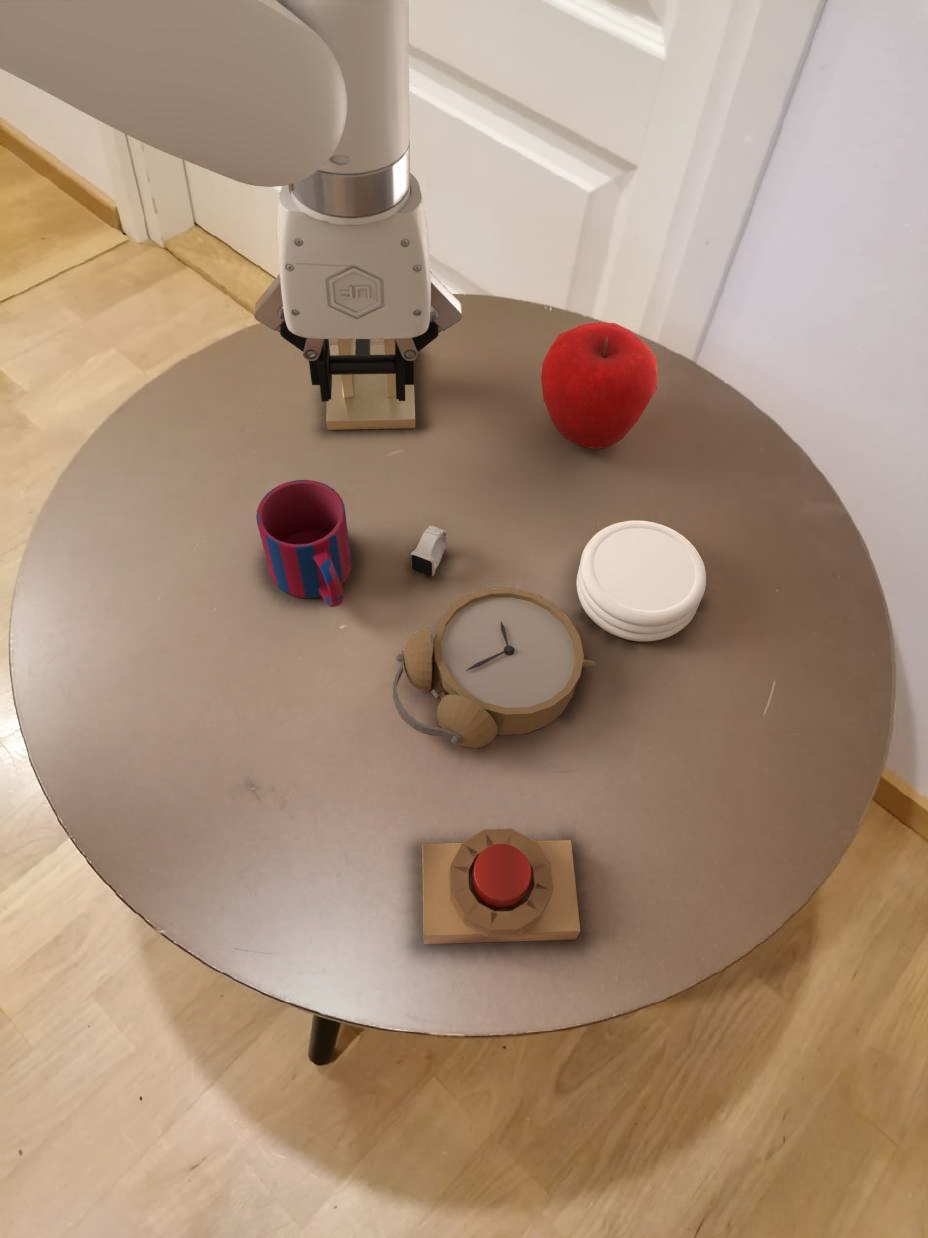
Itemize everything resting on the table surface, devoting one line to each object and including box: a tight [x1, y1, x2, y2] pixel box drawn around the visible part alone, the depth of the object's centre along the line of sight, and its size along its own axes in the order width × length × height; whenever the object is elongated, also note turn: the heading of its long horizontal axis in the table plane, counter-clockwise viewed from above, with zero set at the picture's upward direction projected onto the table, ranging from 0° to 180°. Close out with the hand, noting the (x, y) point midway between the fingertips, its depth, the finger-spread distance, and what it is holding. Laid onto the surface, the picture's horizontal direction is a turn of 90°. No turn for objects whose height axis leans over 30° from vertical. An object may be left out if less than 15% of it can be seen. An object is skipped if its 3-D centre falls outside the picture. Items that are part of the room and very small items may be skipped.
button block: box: [421, 828, 581, 945], centre depth 61 cm, size 10×6×4 cm, turn 92°
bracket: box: [325, 339, 416, 431], centre depth 83 cm, size 10×8×13 cm
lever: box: [329, 339, 395, 375], centre depth 75 cm, size 13×5×2 cm, turn 3°
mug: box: [255, 479, 352, 608], centre depth 73 cm, size 7×10×7 cm
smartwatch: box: [410, 525, 449, 578], centre depth 76 cm, size 4×2×4 cm, turn 156°
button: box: [473, 844, 531, 908], centre depth 59 cm, size 4×4×2 cm
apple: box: [540, 321, 658, 450], centre depth 81 cm, size 10×10×11 cm
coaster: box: [575, 520, 707, 642], centre depth 75 cm, size 10×10×4 cm
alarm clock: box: [392, 587, 596, 749], centre depth 70 cm, size 11×5×15 cm
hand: (363, 386), depth 73 cm, fingers closed on lever, 5 cm apart
